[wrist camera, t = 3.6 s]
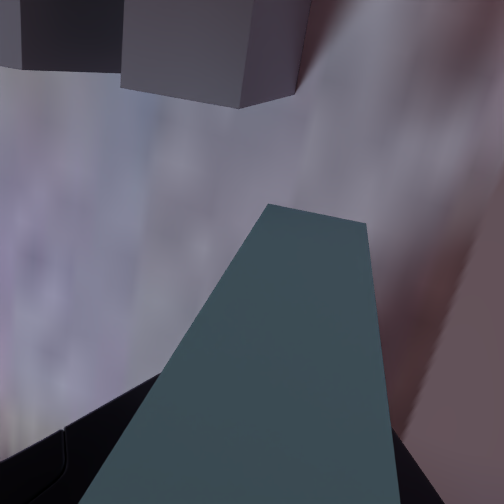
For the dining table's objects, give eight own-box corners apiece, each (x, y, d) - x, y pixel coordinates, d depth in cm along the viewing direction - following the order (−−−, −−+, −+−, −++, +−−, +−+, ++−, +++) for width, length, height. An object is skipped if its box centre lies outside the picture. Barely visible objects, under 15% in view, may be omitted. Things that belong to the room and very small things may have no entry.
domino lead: (366, 223, 11) (453, 928, 2) (322, 391, 13) (259, 1151, 4) (267, 203, 11) (-65, 731, 2) (239, 370, 13) (-7, 1030, 4)
